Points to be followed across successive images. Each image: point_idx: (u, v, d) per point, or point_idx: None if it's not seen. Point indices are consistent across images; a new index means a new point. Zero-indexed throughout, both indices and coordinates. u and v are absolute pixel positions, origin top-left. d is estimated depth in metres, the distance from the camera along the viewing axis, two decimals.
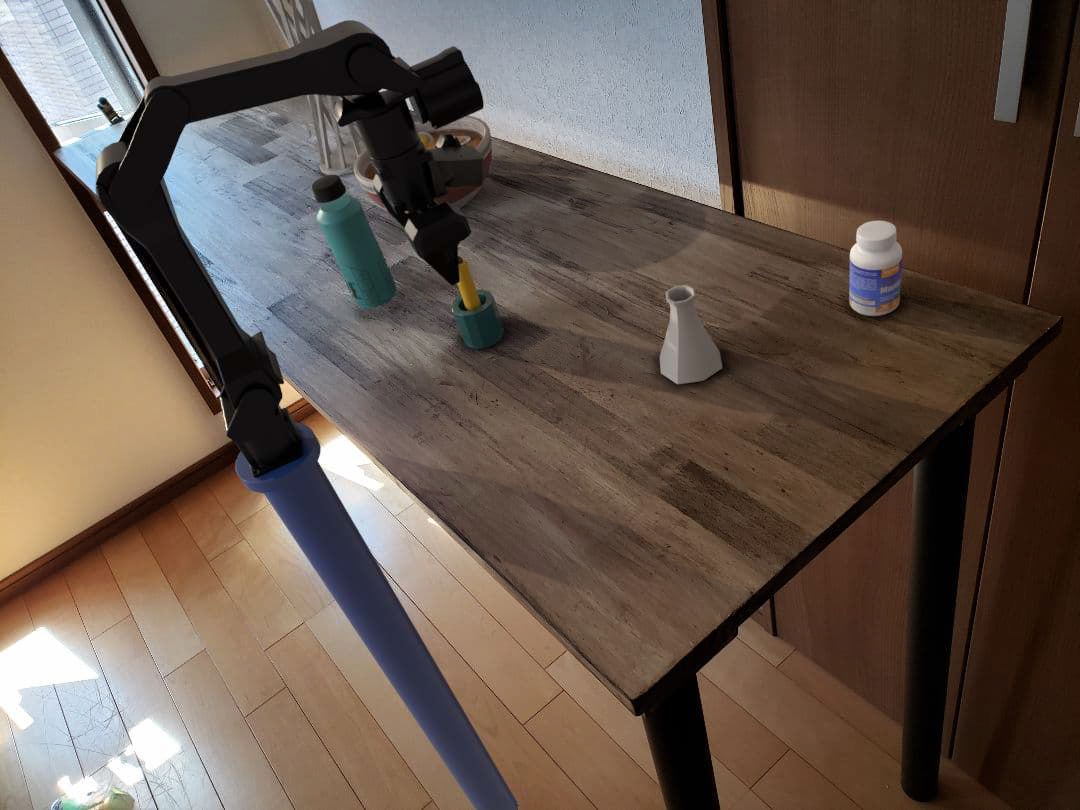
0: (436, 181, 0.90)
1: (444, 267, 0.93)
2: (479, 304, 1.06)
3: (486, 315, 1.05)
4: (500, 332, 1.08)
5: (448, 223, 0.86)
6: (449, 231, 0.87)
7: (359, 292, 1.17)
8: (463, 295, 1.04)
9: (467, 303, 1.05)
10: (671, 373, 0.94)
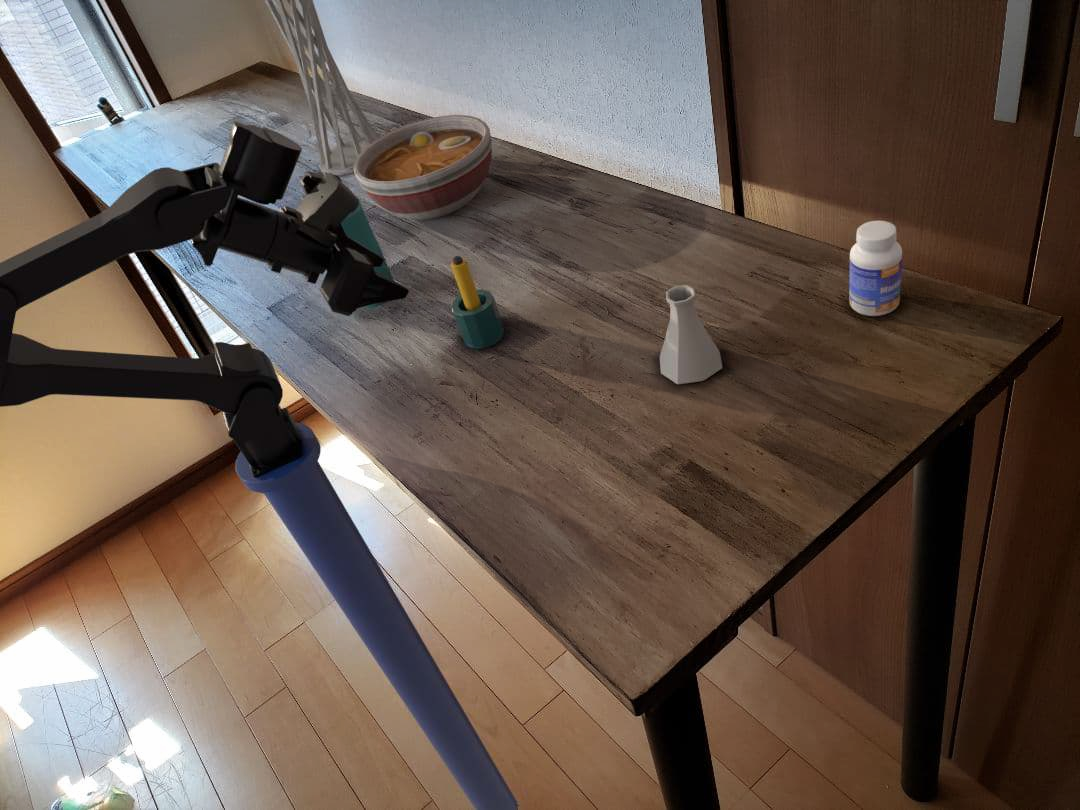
0: (318, 237, 0.89)
1: (383, 295, 0.93)
2: (479, 304, 1.06)
3: (486, 315, 1.05)
4: (500, 332, 1.08)
5: (345, 277, 0.86)
6: (352, 282, 0.87)
7: None
8: (463, 295, 1.04)
9: (467, 303, 1.05)
10: (671, 373, 0.94)
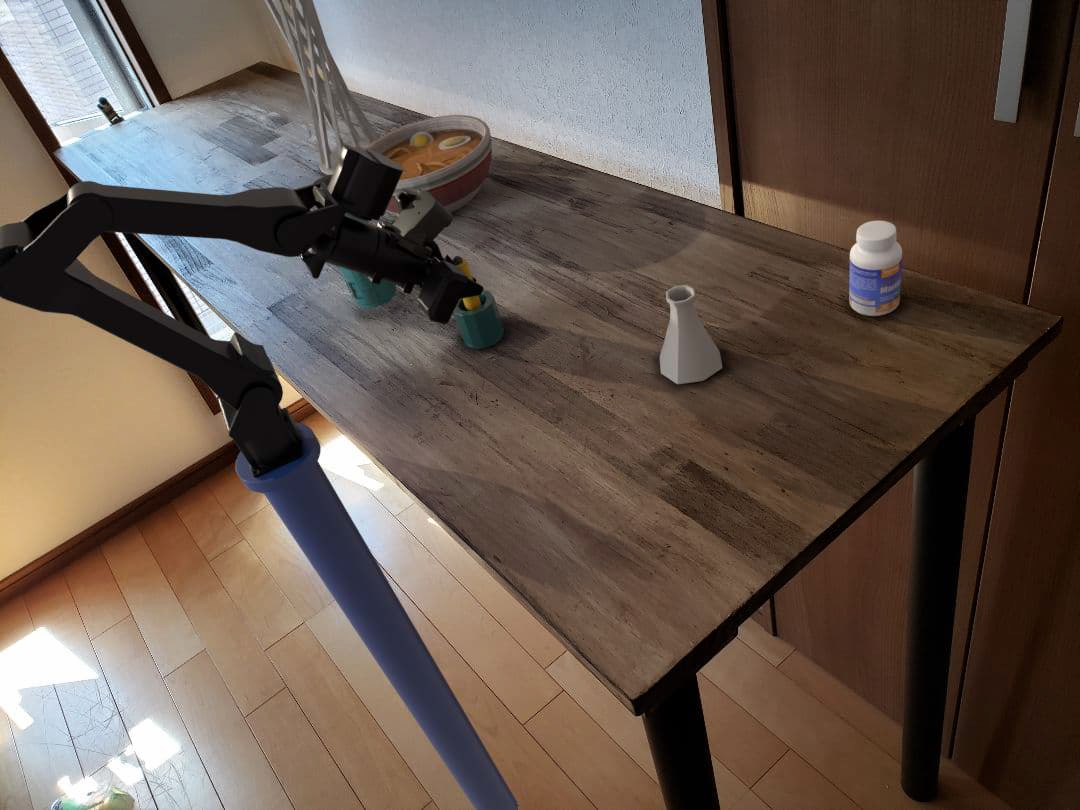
0: (415, 251, 0.96)
1: (462, 292, 1.02)
2: (479, 304, 1.06)
3: (486, 315, 1.05)
4: (500, 332, 1.08)
5: (444, 288, 0.92)
6: (450, 293, 0.93)
7: (359, 292, 1.17)
8: None
9: (467, 303, 1.05)
10: (671, 373, 0.94)
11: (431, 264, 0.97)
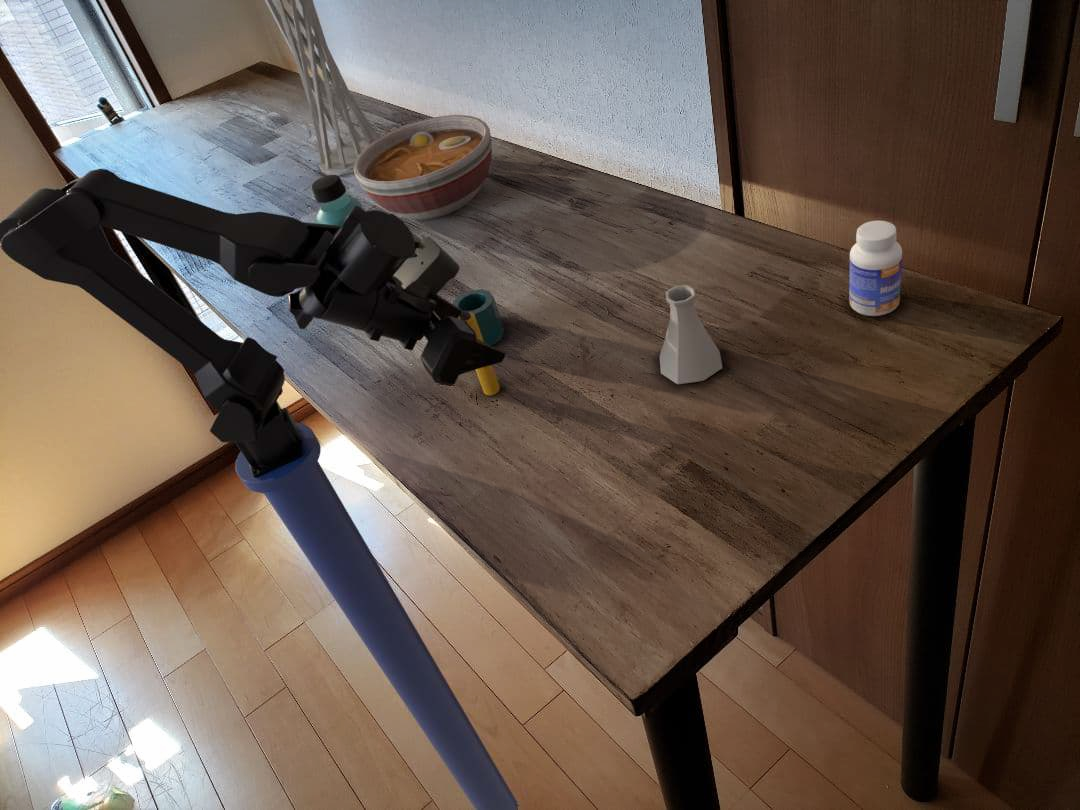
0: (418, 305, 0.87)
1: (482, 360, 0.91)
2: None
3: (486, 315, 1.05)
4: (500, 332, 1.08)
5: (450, 349, 0.84)
6: (457, 353, 0.84)
7: None
8: None
9: None
10: (671, 373, 0.94)
11: None
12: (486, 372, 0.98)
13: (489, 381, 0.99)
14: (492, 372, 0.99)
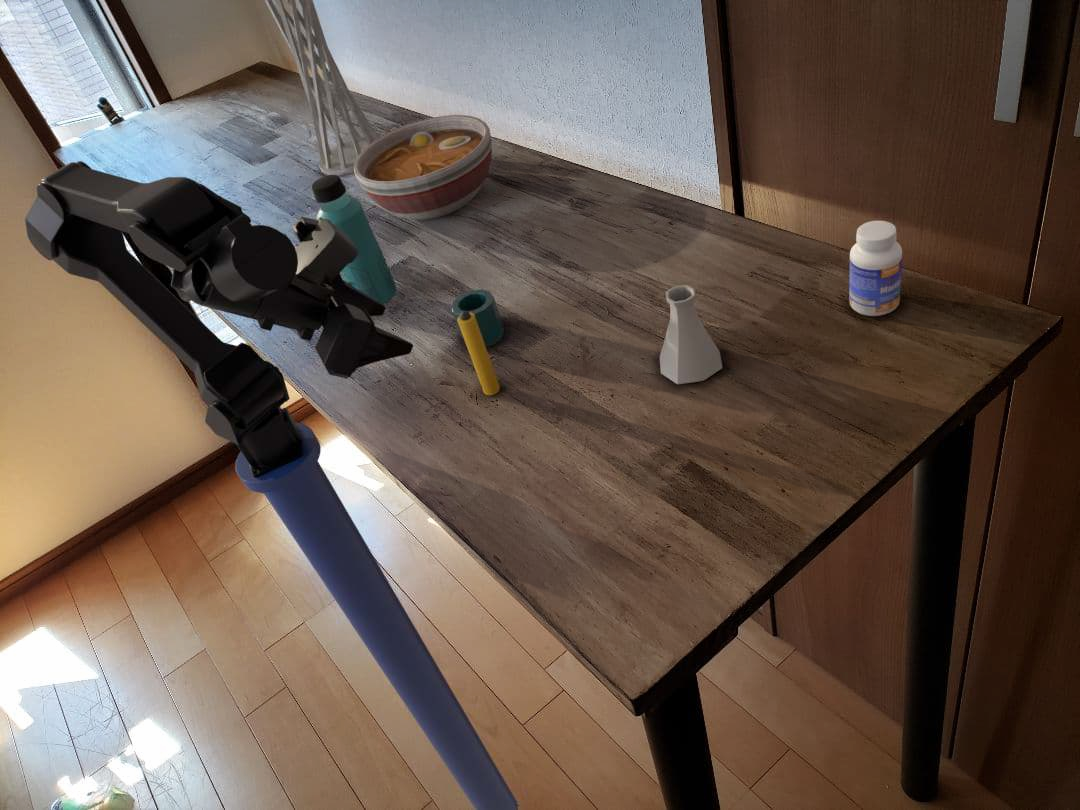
0: (313, 291, 0.81)
1: (385, 352, 0.85)
2: (488, 361, 0.97)
3: (486, 315, 1.05)
4: (500, 332, 1.08)
5: (342, 338, 0.78)
6: (350, 342, 0.78)
7: None
8: (471, 352, 0.96)
9: (475, 360, 0.97)
10: (671, 373, 0.94)
11: None
12: (486, 372, 0.98)
13: (489, 381, 0.99)
14: (492, 372, 0.99)
